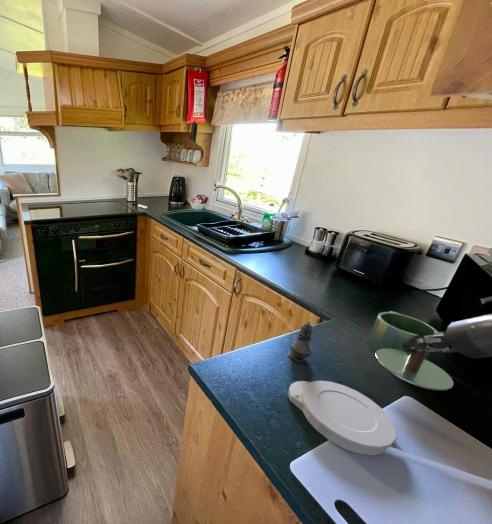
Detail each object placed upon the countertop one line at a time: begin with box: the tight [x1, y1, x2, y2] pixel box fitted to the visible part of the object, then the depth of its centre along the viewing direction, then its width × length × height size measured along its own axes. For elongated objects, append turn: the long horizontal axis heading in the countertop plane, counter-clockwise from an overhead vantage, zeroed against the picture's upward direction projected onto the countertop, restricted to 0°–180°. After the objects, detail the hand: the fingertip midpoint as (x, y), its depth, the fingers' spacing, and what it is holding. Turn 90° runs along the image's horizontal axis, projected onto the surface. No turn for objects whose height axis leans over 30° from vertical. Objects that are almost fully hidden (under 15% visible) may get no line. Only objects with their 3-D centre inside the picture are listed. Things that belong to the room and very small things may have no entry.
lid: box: [287, 380, 397, 456], centre depth 64 cm, size 17×20×3 cm
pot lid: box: [374, 349, 454, 392], centre depth 70 cm, size 15×15×9 cm
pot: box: [366, 310, 440, 361], centre depth 86 cm, size 14×19×10 cm
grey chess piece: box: [287, 321, 314, 365], centre depth 81 cm, size 6×6×12 cm
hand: (411, 348), depth 72 cm, fingers closed on pot lid, 2 cm apart
